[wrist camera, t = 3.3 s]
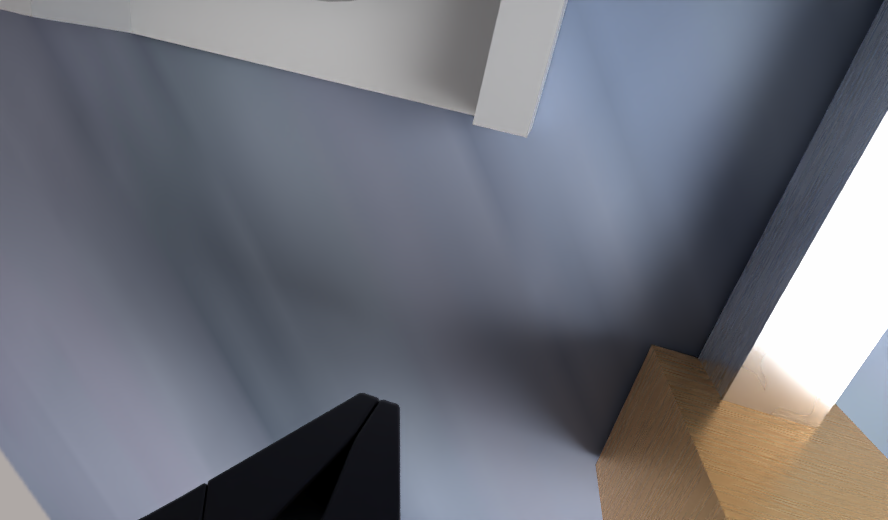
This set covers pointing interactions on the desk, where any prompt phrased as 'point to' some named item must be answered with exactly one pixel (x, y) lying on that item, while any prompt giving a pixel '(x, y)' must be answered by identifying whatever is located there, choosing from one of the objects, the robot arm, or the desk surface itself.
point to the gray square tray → (361, 43)
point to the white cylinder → (335, 0)
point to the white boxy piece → (778, 349)
